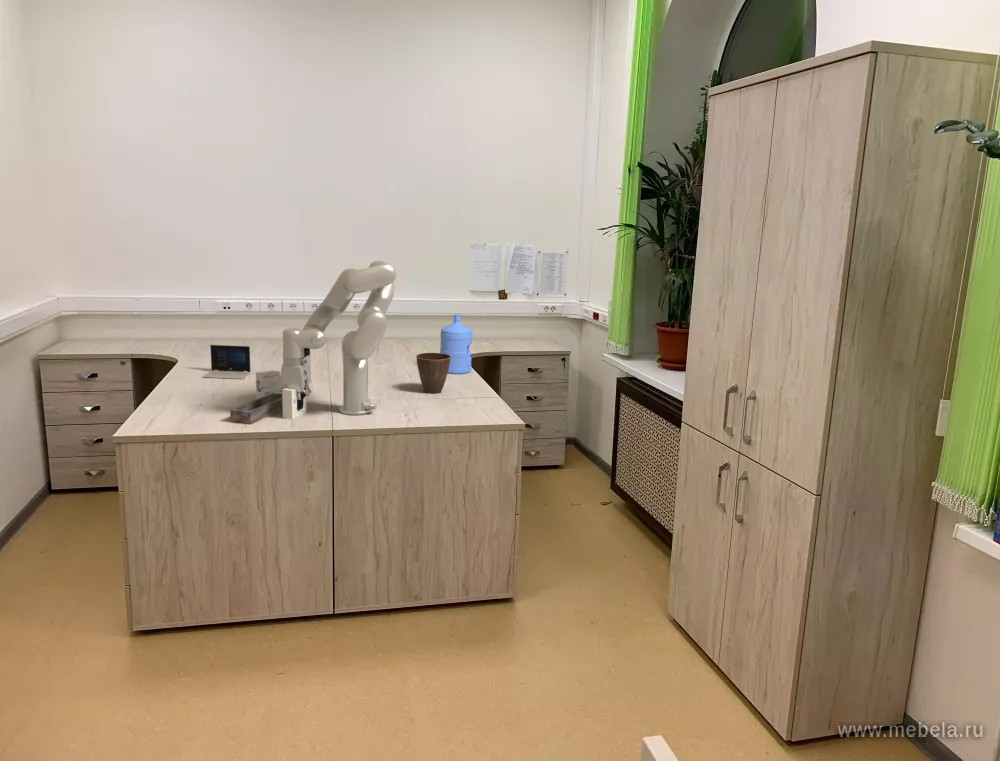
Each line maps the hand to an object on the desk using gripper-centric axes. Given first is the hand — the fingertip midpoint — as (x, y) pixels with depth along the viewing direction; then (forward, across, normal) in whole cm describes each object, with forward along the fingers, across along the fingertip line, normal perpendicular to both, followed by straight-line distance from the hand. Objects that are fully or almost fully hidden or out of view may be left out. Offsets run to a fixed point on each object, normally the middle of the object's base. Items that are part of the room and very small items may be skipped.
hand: (294, 407), depth 290 cm
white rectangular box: (+3, 0, 0) cm, 3 cm away
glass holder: (+3, +28, -48) cm, 56 cm away
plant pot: (+3, -34, -57) cm, 66 cm away
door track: (+3, +12, +3) cm, 13 cm away
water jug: (+3, -29, -101) cm, 105 cm away
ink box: (+3, +21, -15) cm, 26 cm away
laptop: (+3, +61, -43) cm, 75 cm away
